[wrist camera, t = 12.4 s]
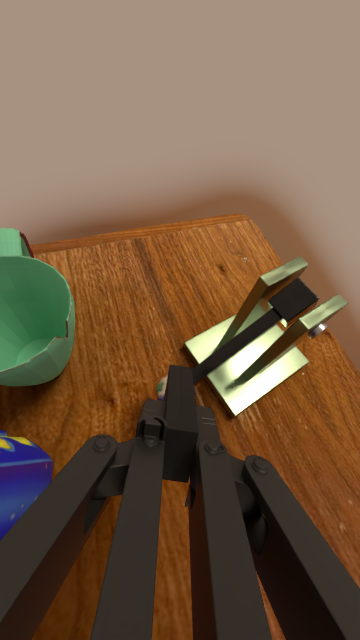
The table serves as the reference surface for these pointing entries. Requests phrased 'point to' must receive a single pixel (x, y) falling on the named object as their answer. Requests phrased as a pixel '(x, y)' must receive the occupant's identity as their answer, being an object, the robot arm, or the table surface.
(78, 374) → the table surface
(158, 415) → the robot arm
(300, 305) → the lever
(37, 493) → the ornament
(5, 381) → the mug
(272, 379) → the bracket
